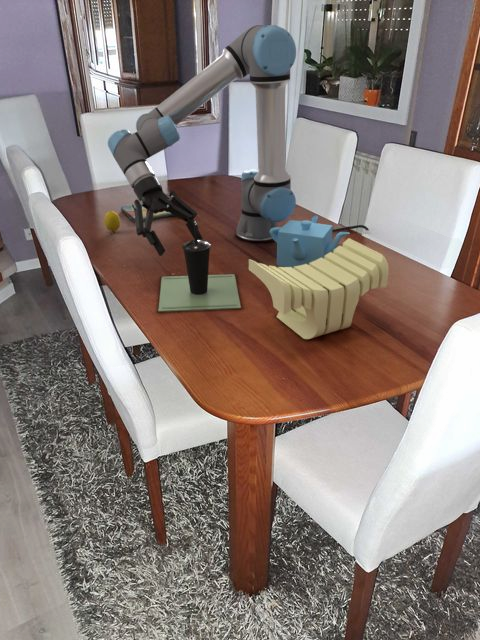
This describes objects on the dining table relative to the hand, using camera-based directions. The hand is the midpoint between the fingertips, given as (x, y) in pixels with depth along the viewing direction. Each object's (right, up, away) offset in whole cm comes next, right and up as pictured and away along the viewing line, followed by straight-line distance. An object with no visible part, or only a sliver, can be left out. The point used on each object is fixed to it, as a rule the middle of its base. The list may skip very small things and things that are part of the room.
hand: (181, 247), depth 147 cm
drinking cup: (+5, -12, +2) cm, 13 cm away
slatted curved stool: (+36, -22, -13) cm, 44 cm away
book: (-19, +26, +64) cm, 72 cm away
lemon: (-30, +14, +44) cm, 56 cm away
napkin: (+5, -13, +2) cm, 14 cm away
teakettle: (+37, -3, +18) cm, 41 cm away
